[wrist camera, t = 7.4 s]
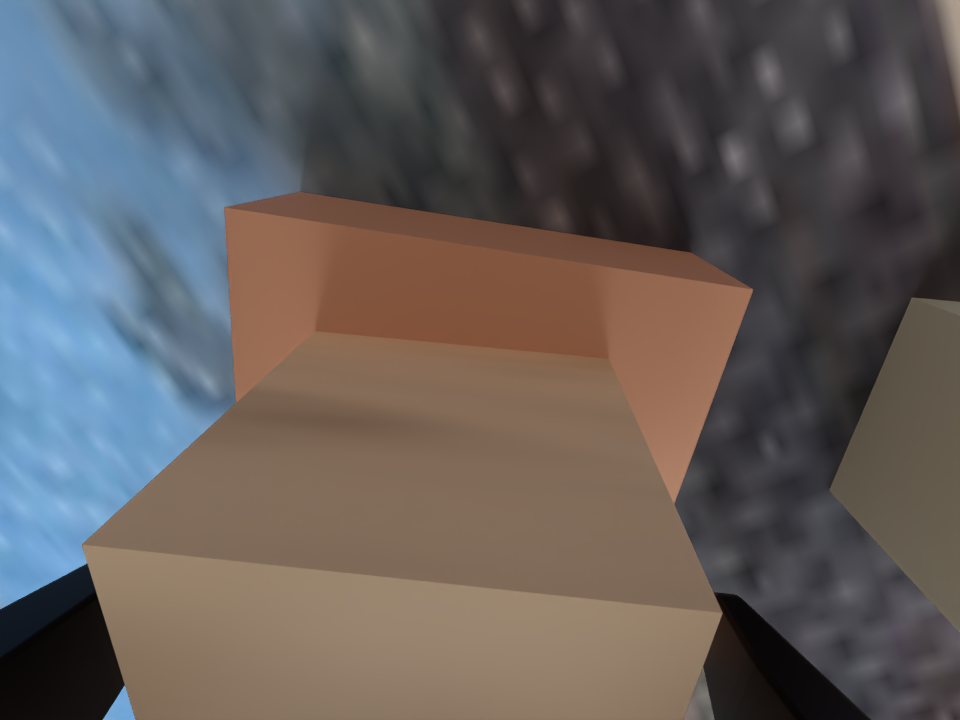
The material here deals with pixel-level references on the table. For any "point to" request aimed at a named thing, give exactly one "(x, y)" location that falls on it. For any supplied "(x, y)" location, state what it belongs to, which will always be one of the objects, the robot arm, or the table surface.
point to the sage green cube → (913, 454)
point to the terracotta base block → (485, 300)
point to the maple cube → (409, 549)
